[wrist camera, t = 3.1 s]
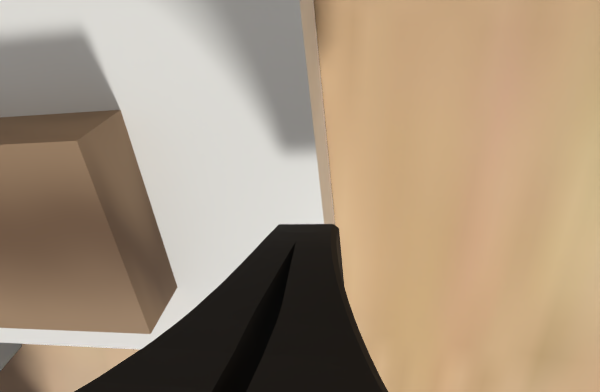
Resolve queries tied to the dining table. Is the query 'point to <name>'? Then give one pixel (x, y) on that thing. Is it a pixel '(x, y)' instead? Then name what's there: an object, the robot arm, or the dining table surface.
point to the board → (184, 121)
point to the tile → (77, 228)
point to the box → (7, 352)
